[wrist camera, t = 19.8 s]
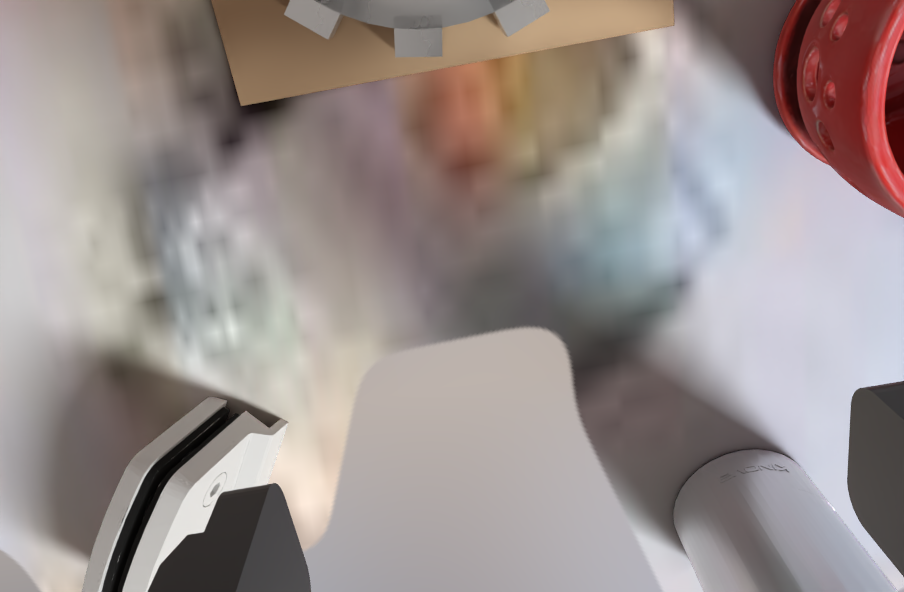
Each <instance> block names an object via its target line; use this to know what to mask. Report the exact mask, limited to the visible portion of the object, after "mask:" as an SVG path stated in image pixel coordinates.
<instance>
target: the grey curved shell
mask: <svg viewBox="0 0 904 592" xmlns="http://www.w3.org/2000/svg"><path fill="white" fill-rule="evenodd" d="M226 403H227V400H223V399H220V398H216V397H208V398H206V399H205V400H204V401H203V402H201V403H200V404H199V405H198V406H196V407H195V408H194V409H192V410H191V411H190V412H189V413H187V414H186V415H185V416H184V417H182V418H181V419H180V420H179V421H177V422H176V423H175V424H173V425H172V426H171V427H170V428H168V429H167V430H166V431H165V432H163V433H162V434H161V435H160V436H158V437H157V438H156V439H154V440H153V441H152V442H151V443H149V444H148V445H147V446H146V447H144V448H143V449H142V450H141V451H139V452H138V453H137V454H136V455H135V456H134V457H133V458H132V460H131V461H130V462H129V464H128V466H127V467H126V469H125V471H124V474H123V476H122V478H121V480H120V482H119V484H118V486H117V488H116V490H115V493H114V495H113V497H112V500H111V502H110V504H109V507H108V509H107V511H106V514H105V517H104V519H103V522H102V525H101V527H100V530H99V533H98V536H97V538H96V541H95V544H94V546H93V550H92V553H91V557H90V560H89V564H88V568H87V571H86V575H85V579H84V584H83V589H82V592H148V589H149V587H150V585H151V583H152V581H153V579H154V576H155V574H156V572H157V570H158V568H159V566H160V564H161V563H162V562H163V561H164V560H165V559H166V558H167V557H168V555H169V554H170V553H171V552H172V551H173V550H174V549H175V548H176V547H177V546H178V545H179V543H180V542H181V541H182V540H183V539H184V538H185V537H186V536H187V535H189V534H196V533H202V532H204V531H205V528H206V526H207V523H208V521H209V518H210V516H211V514H212V511H213V509H214V506H215V504H216V502H217V499H218V497H219V496H220V494H221V493H222V492H225V491H231V490H237V489H243V488H249V487H255V486H261V485H267V484H268V482H269V479H270V476H271V473H272V470H273V467H274V464H275V461H276V458H277V455H278V452H279V449H280V446H281V443H282V440H283V437H284V434H285V431H286V428H287V425H288V422H287V421H285V420H283V419H280V420H279V421H277V422H276V423H275V424H274V425H273V426H271V427H270V428H268V427H267V426H266V425H264V424H263V423H262V422H260V421H259V420H258V419H256V418H255V417H254V416H252V415H251V414H250V413H248V412H247V411H245V412H244V413H242V414H241V415H238V414H235V415H233V416H232V417H231V418H230V419H229V420H228V421H227V422H226V420H227V416H228V413H229V409H227V408H225V407H226Z"/></svg>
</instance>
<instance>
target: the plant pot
mask: <svg viewBox="0 0 904 592" xmlns="http://www.w3.org/2000/svg"><path fill="white" fill-rule="evenodd" d="M773 86H774V94H775V99H776V104H777V107H778V110H779V113H780V116H781V118H782V120H783V122H784V124H785V126H786V128H787V129H788V131H789V132H790V134H791V135H792V136H793V138H794V139H795V140H796V141H797V142H798V143H799V144H800V145H801V147H802V148H804V149H805V150H806V151H807V152H808V153H810V154H811V155H813V156H814V157H815V158H817V159H819V160H820V161H822V162H824V163H826V164H828V165H830V166H831V167H832V168H833V169H834V170H835V171H836V172H837V173H838V174H839V175H840V176H841V177H842V178H843V179H845V180H846V181H847V182H848V183H849V184H850V185H852V186H853V187H854V188H855V189H857V190H858V191H859V192H861V193H862V194H863V195H865V196H866V197H868V198H869V199H871V200H873V201H874V202H876V203H878V204H879V205H881V206H883V207H884V208H886V209H888V210H890V211H892V212H894V213H895V214H897V215H899V216H901V217H903V218H904V0H796V2H795V4H794V5H793V7H792V9H791V11H790V12H789V15H788V17H787V19H786V21H785V23H784V25H783V28H782V30H781V33H780V36H779V40H778V43H777V47H776V52H775V59H774V69H773Z"/></svg>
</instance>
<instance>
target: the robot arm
mask: <svg viewBox="0 0 904 592" xmlns="http://www.w3.org/2000/svg"><path fill="white" fill-rule="evenodd" d="M847 483H848V491H849V496H850V500H851V503H852V506H853V508H854V511H855V513H856V515H857V517H858V519H859V521H860V522H861V524H862V526H863V527H864V528H865V530H866V531H867V532H868V533H869V535H870V536H871V537H872V538H873V540H874V541H875V542H876V543H877V544H878V546H879V547H880V548H881V549H882V551H883V552H884V553H885V554H886V556H887V557H888V558H889V559H890V560H891V562H892V563H893V564H894V565H895V567H896V568H897V569H898V570H899V572H900V573H901V574H902V575H903V576H904V381H902V382H896V383H889V384H883V385H877V386H871V387H865V388H859V389H858V390H856V392H855V393H854V395H853V397H852V401H851V415H850V436H849V456H848V476H847ZM673 516H674V526H675V528H676V531H677V534H678V536H679V538H680V540H681V543H682V545H683V547H684V549H685V551H686V553H687V556H688V558H689V560H690V562H691V564H692V566H693V569H694V571H695V573H696V576H697V578H698V580H699V582H700V584H701V587H702V589H703V591H704V592H898V591H897V589H896V588H895V587H894V586H893V584H892V583H891V582H890V581H889V579H888V578H887V577H886V575H885V574H884V573H883V572H882V570H881V569H880V568H879V566H878V565H877V564H876V563H875V561H874V560H873V559H872V557H871V556H870V555H869V554H868V552H867V551H866V550H865V548H864V547H863V546H862V545H861V543H860V542H859V541H858V539H857V538H856V537H855V536H854V534H853V533H852V532H851V530H850V529H849V528H848V527H847V525H846V524H845V523H844V521H843V520H842V519H841V518H840V516H839V515H838V514H837V512H836V511H835V510H834V508H833V507H832V506H831V505H830V503H829V502H828V501H827V499H826V498H825V497H824V496H823V494H822V493H821V492H820V491H819V489H818V488H817V487H816V485H815V484H814V483H813V482H812V480H811V479H810V478H809V477H808V475H807V474H806V473H805V471H804V470H803V469H802V468H801V467H800V466H799V465H798V464H797V463H796V462H795V461H793V460H791V459H790V458H788V457H786V456H785V455H782V454H779V453H776V452H773V451H767V450H758V449H754V450H741V451H737V452H733V453H729V454H726V455H723V456H721V457H719V458H716V459H714V460H712V461H710V462H709V463H707V464H706V465H704V466H703V467H701V468H700V469H698V470H697V471H696V472H695V473H694V474H693V475H692V476H691V477H690V478H689V479H688V480H687V482H686V483H685V484H684V486H683V487H682V489H681V490H680V492H679V495H678V497H677V499H676V501H675V507H674V512H673ZM148 592H311V585H310V577H309V572H308V567H307V564H306V561H305V557H304V554H303V551H302V548H301V545H300V542H299V539H298V536H297V533H296V530H295V527H294V524H293V521H292V518H291V515H290V512H289V509H288V506H287V503H286V500H285V497H284V494H283V492H282V490H281V488H280V487H279V485H278V484H276V483H273V484H267V485H261V486H255V487H249V488H243V489H237V490H231V491H225V492H222V493H221V494H220V496H219V497H218V499H217V502H216V504H215V506H214V509H213V511H212V514H211V516H210V518H209V521H208V523H207V526H206V528H205V531H204V532H202V533H196V534H189V535H187V536H186V537H185V538H184V539H183V540H182V541H181V542H180V543H179V545H178V546H177V547H176V548H175V549H174V550H173V551H172V552H171V553H170V554H169V555H168V557H167V558H166V559H165V560H164V561H163V562H162V563H161V564H160V566H159V568H158V570H157V572H156V574H155V576H154V579H153V581H152V583H151V585H150V587H149V589H148Z"/></svg>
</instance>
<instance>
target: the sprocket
mask: <svg viewBox="0 0 904 592" xmlns="http://www.w3.org/2000/svg"><path fill="white" fill-rule="evenodd" d="M549 11H550V10H549V8H548V6H547V4H546V2H545V0H290V2H289V4H288V6H287V9H286V11H285V13H284V15H285V16H287V17H289V18H291V19H292V20H294V21H296V22H298V23H299V24H301V25H303V26H305V27H307V28H308V29H310V30H312V31H314V32H315V33H317V34H319V35H321V36H322V37H324V38H326V39H330V38H332V37H333V36H334V34H335V32H336V30H337V28H338V26H339V24H340V22H341V20H342V17H343V15H344V16H347V17H350V18H353V19H356V20H359V21H362V22H365V23H368V24H374V25H379V26H384V27H389V28H394V40H395V57H443V56H442V28H444V27H448V26H452V25H457V24H461V23H466V22H470V21H472V20H475V19H478V18H480V17H483V16H486V15H488V14H491V13H493V15H494V17H495V19H496V21H497V23H498V25H499V27H500V29H501V30H502V32H503V34H504V35H505V36H507V37H509V36H511V35H512V34H514V33H516V32H517V31H519V30H520V29H522V28H524V27H525V26H527V25H528V24H530V23H532V22H533V21H535V20H537V19H538V18H540V17H541V16H543V15H545V14H546V13H548V12H549Z"/></svg>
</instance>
